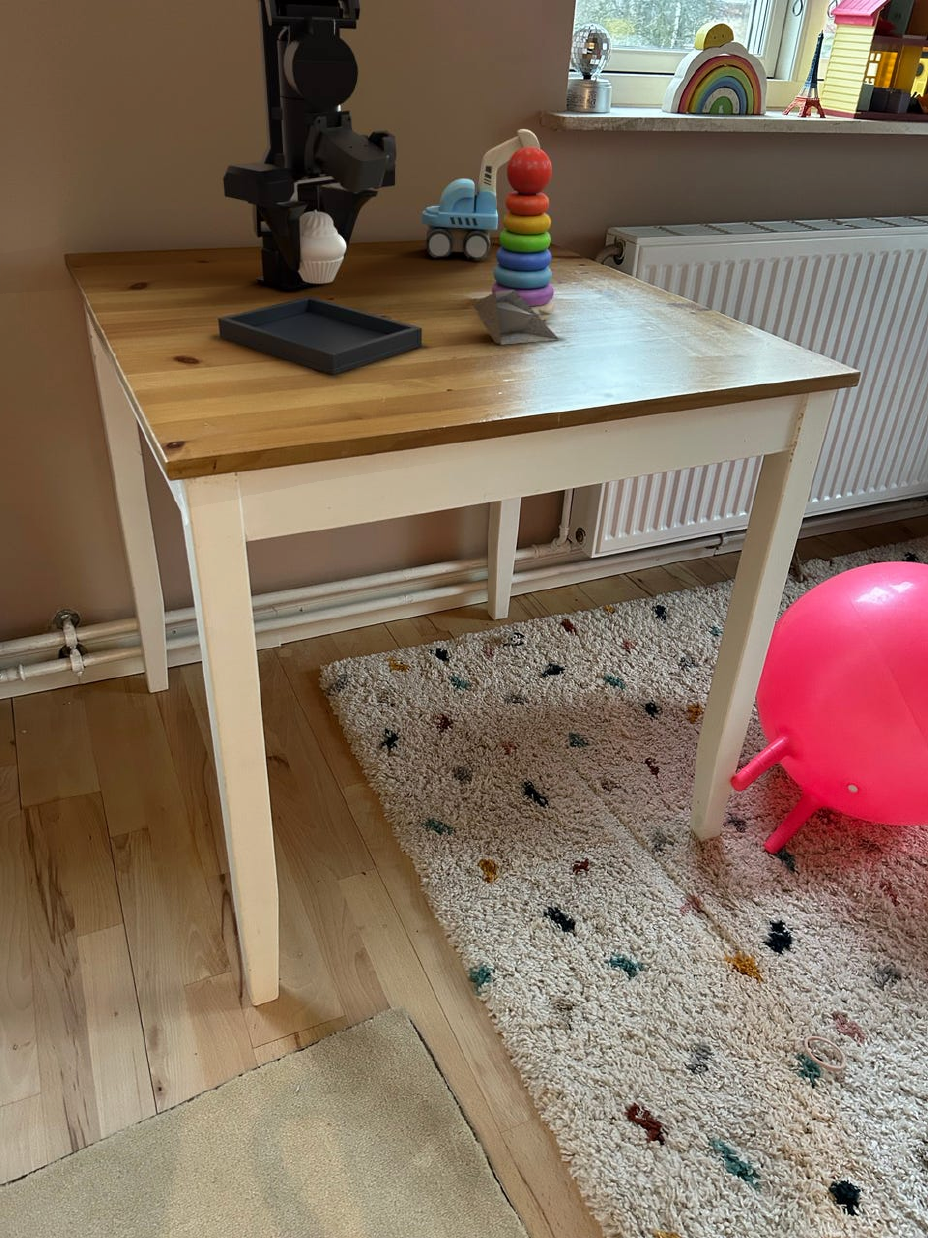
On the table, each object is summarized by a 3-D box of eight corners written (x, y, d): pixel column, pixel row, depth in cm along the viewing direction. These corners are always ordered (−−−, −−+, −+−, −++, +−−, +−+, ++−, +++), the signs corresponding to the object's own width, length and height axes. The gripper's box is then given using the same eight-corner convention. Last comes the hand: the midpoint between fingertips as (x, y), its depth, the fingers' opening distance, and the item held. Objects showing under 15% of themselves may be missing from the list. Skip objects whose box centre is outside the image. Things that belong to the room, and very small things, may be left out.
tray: (310, 314, 114) (309, 296, 112) (422, 346, 105) (422, 327, 103) (219, 337, 104) (217, 318, 103) (333, 375, 95) (332, 354, 94)
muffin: (313, 270, 105) (310, 201, 101) (358, 279, 102) (357, 209, 98) (276, 280, 100) (272, 209, 96) (323, 290, 98) (320, 217, 94)
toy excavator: (533, 264, 140) (543, 134, 131) (420, 259, 140) (422, 128, 130) (530, 251, 147) (539, 127, 138) (423, 246, 147) (424, 121, 138)
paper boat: (523, 313, 113) (587, 308, 107) (511, 365, 113) (574, 363, 107) (458, 268, 104) (524, 259, 98) (445, 324, 104) (510, 319, 98)
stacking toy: (484, 306, 120) (493, 140, 109) (547, 307, 120) (561, 142, 110) (491, 324, 113) (501, 149, 103) (557, 325, 114) (574, 152, 103)
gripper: (296, 110, 81) (305, 296, 90) (436, 100, 94) (432, 265, 102) (212, 97, 87) (228, 274, 96) (355, 90, 99) (358, 247, 108)
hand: (317, 265), depth 100 cm, fingers closed on muffin, 6 cm apart
